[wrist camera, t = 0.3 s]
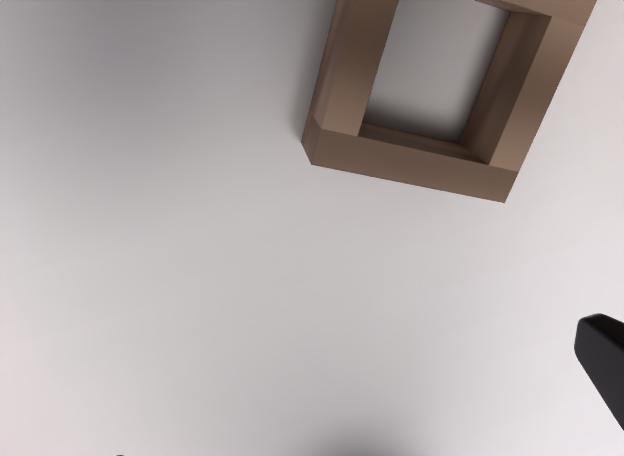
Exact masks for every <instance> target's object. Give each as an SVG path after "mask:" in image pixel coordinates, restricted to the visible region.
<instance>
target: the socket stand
mask: <svg viewBox="0 0 624 456" xmlns="http://www.w3.org/2000/svg"><path fill="white" fill-rule="evenodd" d="M475 1H479V2H482V3H485V4H488V5H491V6H495V7H498V8H501V9H504V10H507V11H510V12H511V13H510V16H509V18H508V21H507V23H506V26H505V28H504V31H503V34H502V36H501V39H500V41H499V44H498V46H497V49H496V51H495V54H494V56H493V59H492V62H491V64H490V67H489V69H488V72H487V74H486V77H485V79H484V82H483V85H482V87H481V90H480V92H479V95H478V97H477V100H476V102H475V105H474V107H473V110H472V113H471V115H470V118H469V120H468V123H467V125H466V128H465V130H464V133H463V135H462V138H461V141H460V143H459V144H456V143H451V142H447V141H443V140H438V139H434V138H429V137H425V136H421V135H416V134H412V133H407V132H403V131H399V130H394V129H390V128H385V127H381V126H377V125H372V124H368V123H364V122H362V119H363V116H364V113H365V110H366V106H367V103H368V100H369V96H370V93H371V90H372V86H373V83H374V80H375V76H376V73H377V70H378V66H379V63H380V60H381V57H382V53H383V50H384V47H385V43H386V40H387V37H388V33H389V30H390V27H391V23H392V20H393V17H394V13H395V10H396V7H397V4H398V0H337V4H336V7H335V11H334V15H333V19H332V23H331V27H330V31H329V35H328V39H327V43H326V47H325V51H324V55H323V59H322V62H321V66H320V70H319V74H318V78H317V82H316V86H315V90H314V94H313V98H312V102H311V106H310V110H309V114H308V118H307V121H306V125H305V129H304V133H303V137H302V141H301V143H302V145H303V148H304V150H305V152H306V154H307V156H308V158H309V160H310V162H311V165H316V166H321V167H326V168H331V169H336V170H341V171H346V172H351V173H356V174H361V175H366V176H371V177H376V178H381V179H386V180H391V181H396V182H401V183H406V184H411V185H416V186H421V187H427V188H432V189H437V190H442V191H447V192H452V193H457V194H462V195H467V196H472V197H477V198H482V199H487V200H492V201H497V202H502V203H505V201H506V199H507V197H508V195H509V192H510V190H511V188H512V186H513V184H514V181H515V179H516V177H517V175H518V173H519V170H520V168H521V166H522V164H523V162H524V159H525V157H526V155H527V153H528V151H529V148H530V146H531V144H532V142H533V140H534V137H535V135H536V133H537V131H538V129H539V126H540V124H541V122H542V120H543V118H544V115H545V113H546V111H547V109H548V107H549V104H550V102H551V100H552V98H553V96H554V93H555V91H556V89H557V87H558V85H559V82H560V80H561V78H562V76H563V74H564V71H565V69H566V67H567V65H568V63H569V60H570V58H571V56H572V54H573V52H574V50H575V47H576V45H577V43H578V41H579V39H580V36H581V34H582V32H583V30H584V28H585V25H586V23H587V21H588V19H589V17H590V14H591V12H592V10H593V8H594V6H595V3H596V1H597V0H475Z"/></svg>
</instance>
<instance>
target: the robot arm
mask: <svg viewBox="0 0 624 456" xmlns="http://www.w3.org/2000/svg"><path fill="white" fill-rule="evenodd" d="M574 350H575V354H576V356H577V358H578V360H579V362H580V363H581V365H582V367H583V368H584V370H585V371H586V373H587V374H588V376H589V378H590V379H591V381H592V382H593V384H594V386H595V387H596V389H597V390H598V392H599V393H600V395H601V397H602V398H603V400H604V401H605V403H606V404H607V406H608V408H609V409H610V411H611V412H612V414H613V416H614V417H615V419H616V420H617V422H618V423H619V425H620V426H621V428H622V429H623V430H624V323H623V322H621V321H618V320H616V319H614V318H612V317H609V316H607V315H604V314H593V315H590V316H587V317H583V318H581V319H580V320H579V321H578V325H577V331H576V338H575V344H574ZM118 456H123V455H118Z"/></svg>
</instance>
